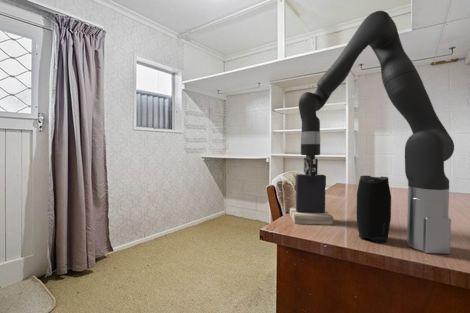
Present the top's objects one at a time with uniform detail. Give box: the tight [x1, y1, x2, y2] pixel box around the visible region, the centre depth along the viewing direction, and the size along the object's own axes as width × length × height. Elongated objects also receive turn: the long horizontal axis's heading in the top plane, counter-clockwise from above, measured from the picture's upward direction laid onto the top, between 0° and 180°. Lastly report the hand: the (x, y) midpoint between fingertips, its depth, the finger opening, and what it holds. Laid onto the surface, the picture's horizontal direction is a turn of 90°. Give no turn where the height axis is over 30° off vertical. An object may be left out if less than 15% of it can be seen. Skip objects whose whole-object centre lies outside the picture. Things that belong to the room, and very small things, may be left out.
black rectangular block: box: [295, 173, 327, 213], centre depth 99 cm, size 11×4×15 cm, turn 85°
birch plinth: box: [289, 206, 334, 226], centre depth 100 cm, size 14×14×3 cm
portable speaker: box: [356, 175, 392, 244], centre depth 77 cm, size 9×9×20 cm
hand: (310, 184), depth 99 cm, fingers open, 7 cm apart
